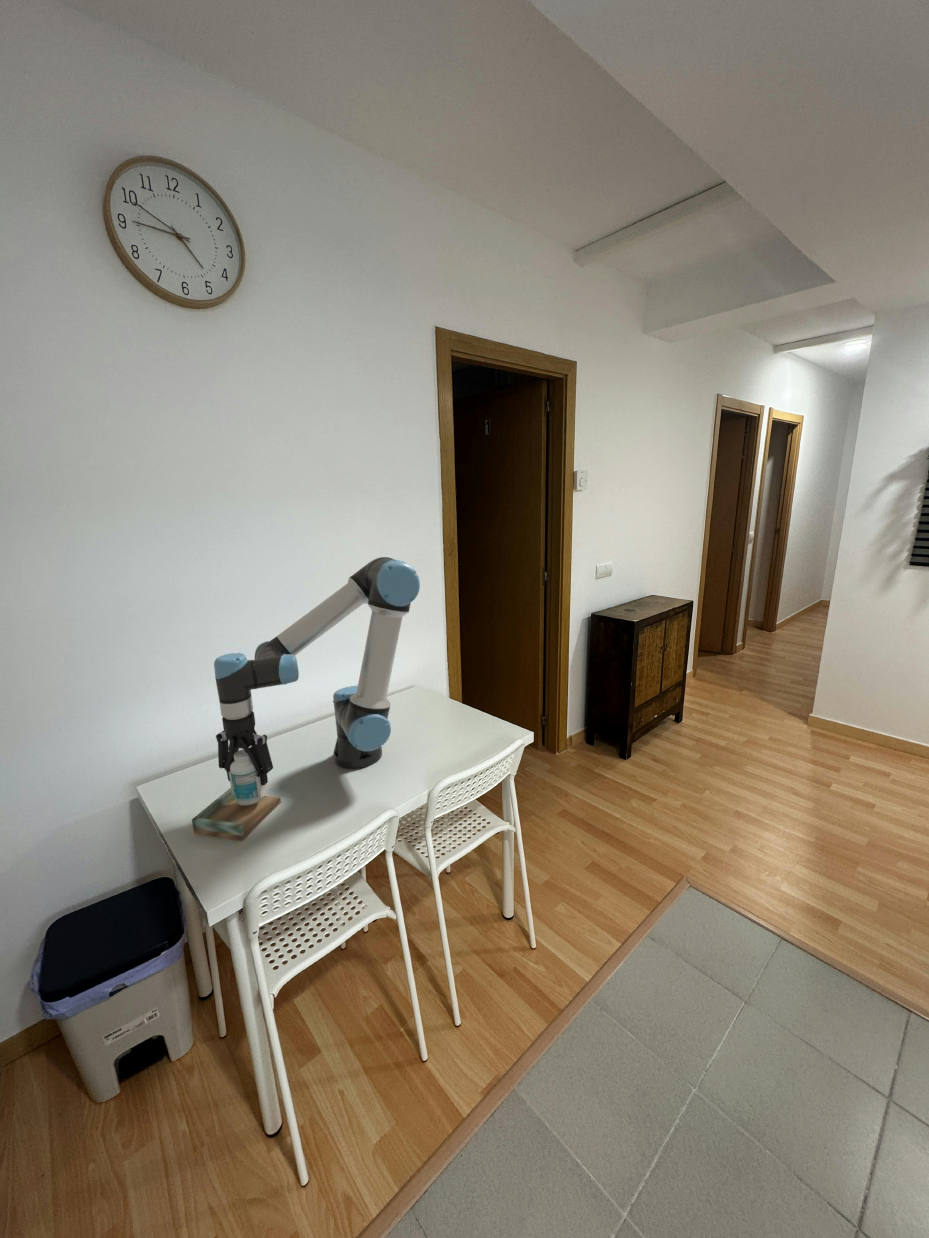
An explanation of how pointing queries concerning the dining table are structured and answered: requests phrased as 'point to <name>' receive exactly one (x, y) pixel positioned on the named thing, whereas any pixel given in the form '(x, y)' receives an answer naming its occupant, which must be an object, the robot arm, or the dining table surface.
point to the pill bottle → (244, 779)
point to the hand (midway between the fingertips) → (249, 793)
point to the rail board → (232, 817)
